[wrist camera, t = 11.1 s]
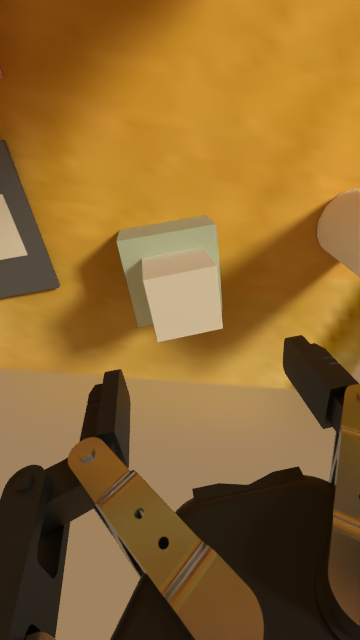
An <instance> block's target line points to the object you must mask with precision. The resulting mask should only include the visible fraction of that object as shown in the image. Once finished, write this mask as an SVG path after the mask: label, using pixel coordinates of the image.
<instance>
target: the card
mask: <svg viewBox="0 0 360 640" xmlns="http://www.w3.org/2000/svg"><path fill="white" fill-rule="evenodd" d="M59 286H60V284H59V281H58V279H57V276H56V274H55V271H54V268H53V266H52V263H51V260H50V258H49V255H48V253H47V250H46V247H45V245H44V242H43V239H42V237H41V234H40V232H39V229H38V226H37V224H36V221H35V218H34V216H33V213H32V211H31V208H30V205H29V203H28V200H27V197H26V195H25V192H24V190H23V187H22V184H21V182H20V179H19V176H18V174H17V171H16V169H15V166H14V163H13V161H12V158H11V155H10V153H9V150H8V148H7V145H6V142H5V140H0V298H5V297H11V296H16V295H22V294H27V293H33V292H38V291H44V290H49V289H55V288H59Z"/></svg>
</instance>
